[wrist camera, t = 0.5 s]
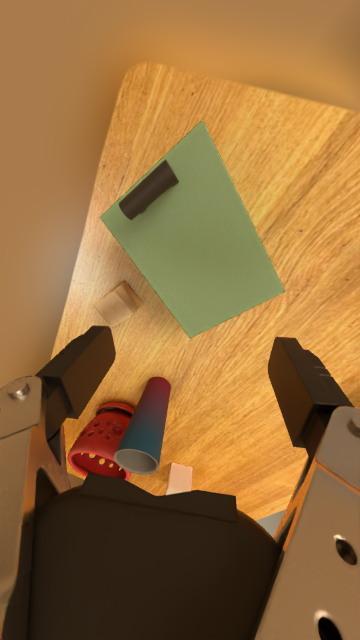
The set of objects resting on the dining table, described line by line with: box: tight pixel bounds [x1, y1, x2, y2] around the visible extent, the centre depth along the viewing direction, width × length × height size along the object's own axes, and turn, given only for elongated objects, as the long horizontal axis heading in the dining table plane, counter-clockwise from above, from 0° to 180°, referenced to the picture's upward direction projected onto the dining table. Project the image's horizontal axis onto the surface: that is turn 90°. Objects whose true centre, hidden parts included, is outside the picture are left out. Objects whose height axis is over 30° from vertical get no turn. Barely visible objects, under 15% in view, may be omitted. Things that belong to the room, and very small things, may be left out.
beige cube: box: [165, 462, 193, 495], centre depth 55 cm, size 6×6×6 cm
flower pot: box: [68, 402, 135, 481], centre depth 44 cm, size 13×13×12 cm
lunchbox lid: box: [100, 120, 285, 338], centre depth 20 cm, size 17×13×5 cm
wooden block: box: [93, 281, 142, 327], centre depth 32 cm, size 4×4×4 cm
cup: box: [114, 377, 171, 475], centre depth 36 cm, size 7×7×15 cm
